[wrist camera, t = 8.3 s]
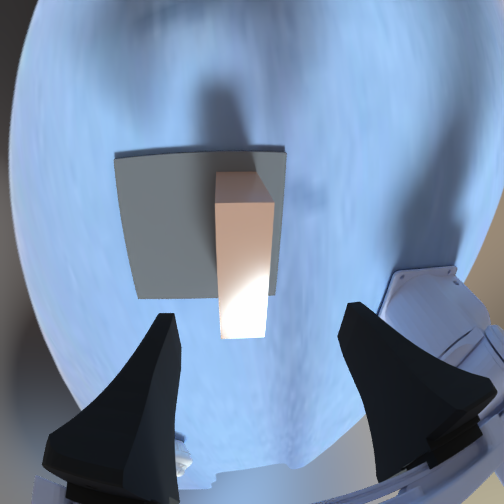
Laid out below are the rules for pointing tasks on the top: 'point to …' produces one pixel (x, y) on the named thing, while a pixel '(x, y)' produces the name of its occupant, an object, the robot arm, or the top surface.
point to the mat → (185, 217)
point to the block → (243, 252)
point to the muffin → (181, 457)
